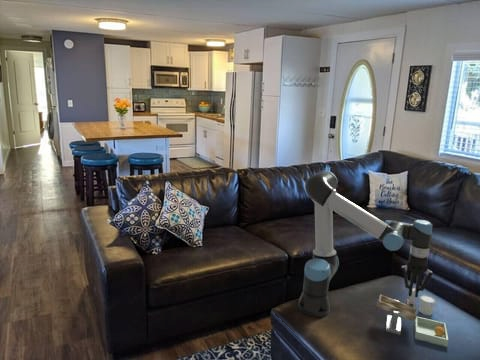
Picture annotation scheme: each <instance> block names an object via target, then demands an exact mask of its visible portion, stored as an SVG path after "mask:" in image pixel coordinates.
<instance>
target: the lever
mask: <svg viewBox="0 0 480 360" xmlns="http://www.w3.org/2000/svg"><path fill="white" fill-rule="evenodd" d="M396 300H397V299H393V298H390V297H388V296H385V295H382V294H381V293H380V294H379V296H378V299H377V303H376V304H377V305H376V306H377V308H380V309H382V310H384V311H387V312H389V313H394V311H397V312H399V315H398V317H400V318H401V317H402V318H404V319H406V320H408V321H411V322H415V319H416V317H417V316H418V315H416V311H417V308H415V303H414V304H410V298H406V300H405V303H406V304H405V303H403V302H401V301H399V300H398V301H399V302H398V301H396Z"/></svg>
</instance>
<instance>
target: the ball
mask: <svg viewBox="0 0 480 360" xmlns="http://www.w3.org/2000/svg"><path fill="white" fill-rule="evenodd" d="M434 332H435V334H436V335H437V336H443V335H444V334H445V331H444V329H443V328H442V327H436V328H435V330H434Z"/></svg>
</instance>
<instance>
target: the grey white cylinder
mask: <svg viewBox="0 0 480 360" xmlns="http://www.w3.org/2000/svg"><path fill="white" fill-rule="evenodd" d="M436 301H437V300H436V299H435V298H434V297H431V296H430V295H424V294H423V295H420V296H419V306H418V307H419V308H418V309H419V312H420V313H421V314H423V315H425V316H432V315H433V311H434V308H435V304H436Z"/></svg>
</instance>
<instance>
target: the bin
mask: <svg viewBox="0 0 480 360" xmlns="http://www.w3.org/2000/svg"><path fill="white" fill-rule="evenodd" d="M413 322H414V321H413ZM413 325H414V339H415V340H418V341H420V342H425V343H429V344H433V345H436V346H440V347H444V348H448V345H449V337H448V330H447V326H446V325H447V324H446V322H441V321H439V320H438V321H437V320H434V319H429V318H425V317H420V316H418V315H417V317H416V319H415V322H414V323H413ZM436 327H442V328H443V329H444V331H445V334H444V335H443V336H437V335H436V334H435V332H434V330H435V328H436Z"/></svg>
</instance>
